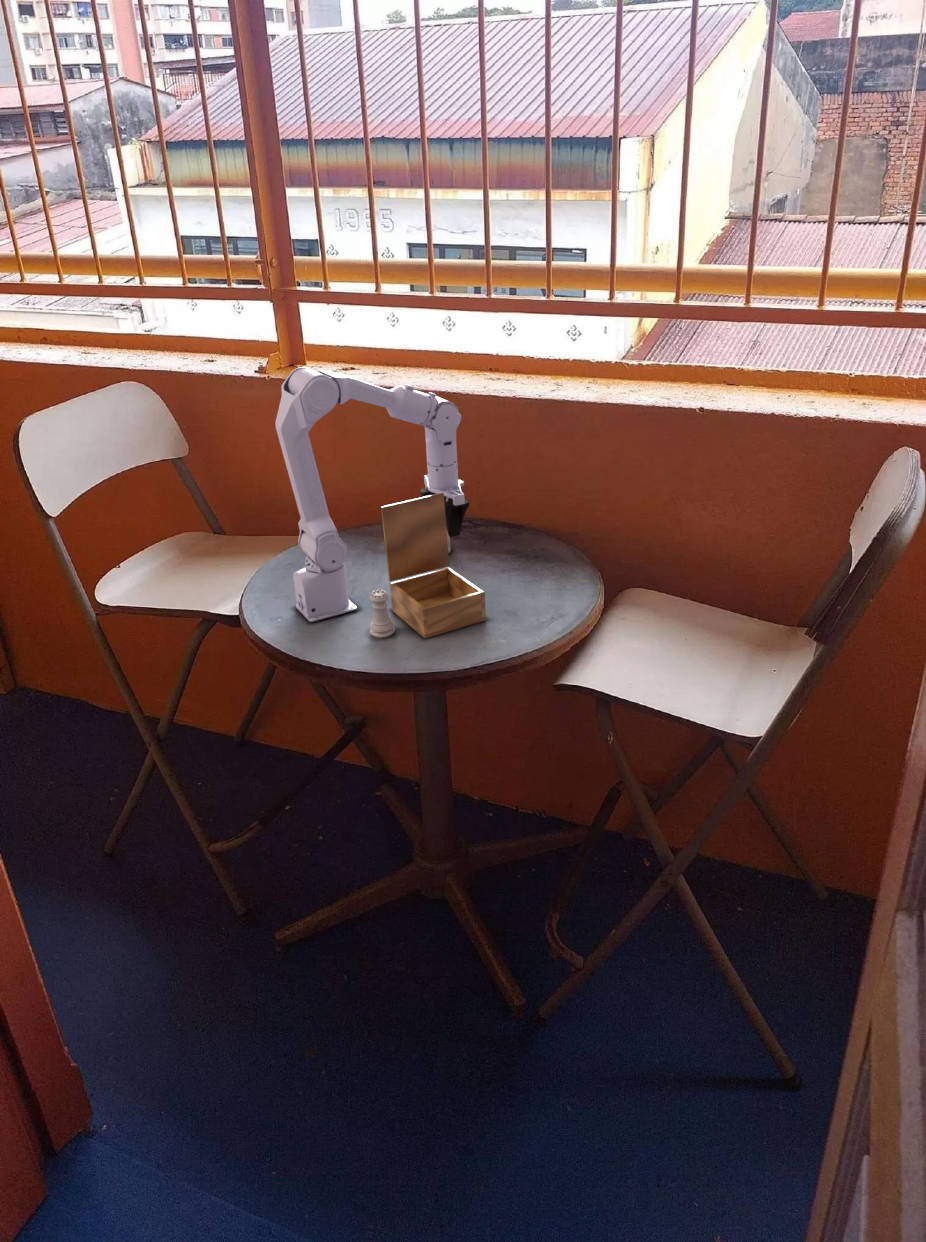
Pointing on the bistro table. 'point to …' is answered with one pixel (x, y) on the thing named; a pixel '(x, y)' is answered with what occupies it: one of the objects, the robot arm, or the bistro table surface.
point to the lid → (415, 536)
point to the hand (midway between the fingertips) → (446, 529)
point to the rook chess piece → (380, 616)
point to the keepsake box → (437, 602)
